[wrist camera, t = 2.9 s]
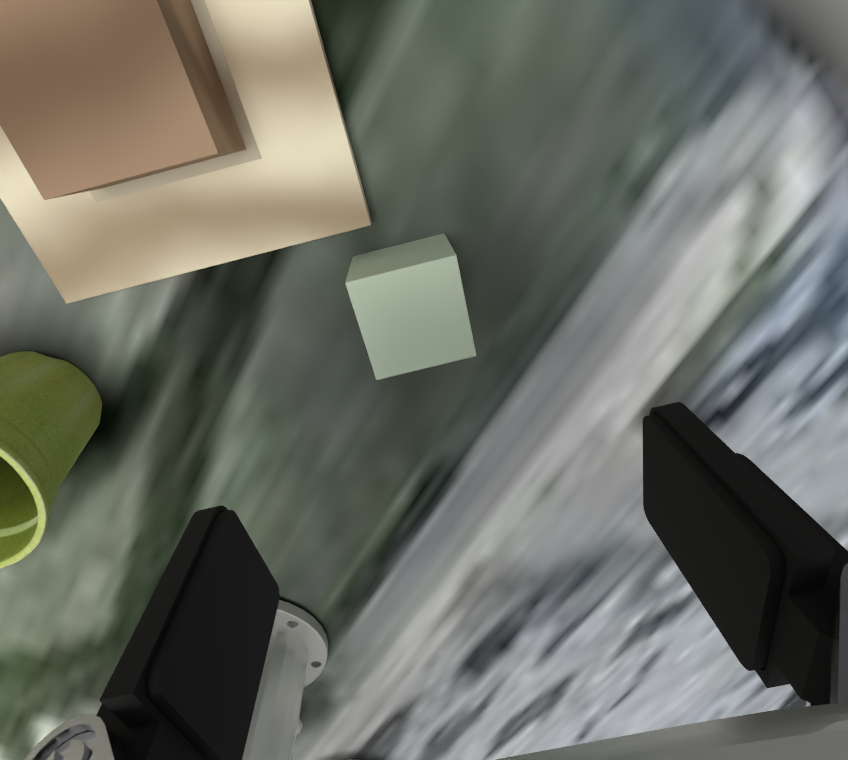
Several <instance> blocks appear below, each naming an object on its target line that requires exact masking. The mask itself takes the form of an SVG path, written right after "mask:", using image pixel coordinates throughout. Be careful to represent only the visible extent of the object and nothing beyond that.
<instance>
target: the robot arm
mask: <svg viewBox="0 0 848 760" xmlns="http://www.w3.org/2000/svg"><path fill="white" fill-rule="evenodd" d="M643 505H644V511H645V514H646V517H647V519H648V521H649V523H650V524H651V526H652V527H653V529H654V531H655V532H656V534H657V535H658V537H659V538H660V540H661V541H662V543H663V544H664V546H665V548H666V549H667V551H668V552H669V554H670V555H671V557H672V558H673V560H674V561H675V563H676V564H677V566H678V568H679V569H680V571H681V572H682V574H683V575H684V577H685V578H686V580H687V581H688V583H689V584H690V586H691V588H692V589H693V591H694V592H695V594H696V595H697V597H698V598H699V600H700V601H701V603H702V604H703V606H704V608H705V609H706V611H707V612H708V614H709V615H710V617H711V618H712V620H713V621H714V623H715V625H716V626H717V628H718V629H719V631H720V632H721V634H722V635H723V637H724V638H725V640H726V641H727V643H728V645H729V646H730V648H731V649H732V651H733V652H734V654H735V655H736V657H737V658H738V660H739V661H740V663H741V664H742V665H743V666H744V667H745V668H746V669H747V670H749V671H751V670H755V671H756V672H757V674H758V675H759V677H760V678H761V680H762V681H763V683H764V684H765V686H766V687H767V688H770V687H776V686H781V685H786V684H791V686H792V687H793V689H794V690H795V691H796V693H797V694H798V696H799V697H800V698H801V699H803V700H805V701H806V707H798V708H789V709H780V710H773V711H767V712H761V713H755V714H749V715H743V716H737V717H731V718H724V719H718V720H712V721H706V722H700V723H694V724H688V725H682V726H676V727H671V728H665V729H660V730H654V731H649V732H644V733H638V734H633V735H627V736H622V737H616V738H611V739H605V740H600V741H594V742H589V743H583V744H578V745H573V746H567V747H562V748H556V749H551V750H545V751H540V752H534V753H529V754H524V755H519V756H513V757H508V758H503V759H497V760H848V551H847V550H846V549H845V548H844V547H843V546H842V545H840V544H839V543H838V542H837V541H836V540H835V539H834V538H833V537H832V536H831V535H830V534H829V533H828V532H827V531H825V530H824V529H823V528H822V527H821V526H820V525H819V524H818V523H817V522H816V521H815V520H814V519H813V518H812V517H811V516H809V515H808V514H807V513H806V512H805V511H804V510H803V509H802V508H801V507H800V506H799V505H798V504H797V503H796V502H794V501H793V500H792V499H791V498H790V497H789V496H788V495H787V494H786V493H785V492H784V491H783V490H782V489H781V488H779V487H778V486H777V485H776V484H775V483H774V482H773V481H772V480H771V479H770V478H769V477H768V476H767V475H766V474H765V473H763V472H762V471H761V470H760V469H759V468H758V467H757V466H756V465H755V464H754V463H753V462H752V461H751V460H749V459H748V458H747V457H745V456H744V455H742V454H738V453H736V454H735V453H734V452H733V451H732V450H731V449H730V448H729V447H728V446H727V445H726V444H725V443H724V442H723V441H722V440H721V439H720V438H719V437H717V436H716V435H715V434H714V433H713V432H712V431H711V430H710V429H709V428H708V427H707V426H706V425H705V424H704V423H703V422H702V421H701V420H700V419H699V418H698V417H697V416H696V415H694V414H693V413H692V412H691V411H690V410H689V409H688V408H687V407H686V406H685V405H684V404H682V403H681V402H676V403H672V404H667V405H663V406H659V407H654V408H652V409H651V411H650V415H649V416H645V417H644V419H643ZM327 654H328V640H327V635H326V633H325V632H324V630H323V628H322V626H321V625H320V624H319V623H318V622H317V621H316V619H315V618H314V617H312V616H311V615H310V614H308V613H307V612H306V611H304V610H303V609H301V608H299V607H297V606H295V605H293V604H291V603H288V602H285V601H282V600H279V588H278V585H277V583H276V581H275V579H274V578H273V576H272V574H271V573H270V571H269V569H268V567H267V566H266V564H265V562H264V561H263V559H262V557H261V555H260V554H259V552H258V550H257V549H256V547H255V545H254V543H253V542H252V540H251V538H250V537H249V535H248V533H247V532H246V530H245V528H244V526H243V525H242V523H241V521H240V520H239V518H238V516H237V514H236V513H235V512H234V511H233V510H228V509H227V508H226V507H224V506H217V507H212V508H208V509H204V510H199V511H197V512H195V513H194V515H193V516H192V518H191V520H190V522H189V524H188V526H187V528H186V530H185V532H184V534H183V536H182V538H181V540H180V542H179V544H178V546H177V548H176V550H175V552H174V554H173V556H172V557H171V559H170V561H169V563H168V565H167V567H166V569H165V571H164V573H163V575H162V577H161V579H160V581H159V583H158V585H157V587H156V589H155V591H154V593H153V595H152V597H151V599H150V601H149V603H148V605H147V607H146V609H145V611H144V613H143V615H142V617H141V619H140V621H139V623H138V625H137V627H136V629H135V631H134V633H133V635H132V637H131V639H130V641H129V643H128V645H127V647H126V649H125V651H124V653H123V655H122V657H121V659H120V661H119V663H118V665H117V667H116V669H115V671H114V673H113V675H112V677H111V679H110V680H109V682H108V684H107V686H106V688H105V690H104V692H103V694H102V696H101V698H100V701H101V702H102V705H101V707H100V709H99V711H98V713H97V715H96V716H95V715H93V714H89V715H80V716H78V717H75V718H73V719H71V720H68V721H66V722H65V723H63V724H62V725H60V726H59V727H57V728H56V729H54V730H53V731H52V732H51V733H49V734H48V735H47V736H46V737H45V738H44V739H43V740H42V741H41V742H39V743H38V744H37V746H36V747H35V748H34V749H33V750H32V752H31V753H30V754H29V755H28V756H27V757H26V759H25V760H293V755H294V748H295V742H296V735H298V734H299V733H300V731H301V729H302V721H301V720H300V718H299V715H300V709H301V702H302V695H303V689H304V688H305V687H306V686H308V685H309V684H311V683H312V682H313V681H314V680H315V679H316V678H317V677H318V676H319V675H320V674H321V672H322V671H323V669H324V667H325V665H326V661H327Z"/></svg>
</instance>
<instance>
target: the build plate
mask: <svg viewBox="0 0 848 760" xmlns="http://www.w3.org/2000/svg"><path fill="white" fill-rule="evenodd" d="M191 2H192V5H193V8H194V11H195V13H196V16H197V19H198V21H199V24H200V27H201V29H202V32H203V35H204V37H205V40H206V43H207V45H208V48H209V51H210V53H211V56H212V59H213V61H214V64H215V67H216V69H217V72H218V75H219V77H220V80H221V83H222V85H223V88H224V91H225V94H226V96H227V99H228V102H229V104H230V107H231V110H232V112H233V115H234V118H235V120H236V123H237V126H238V128H239V131H240V134H241V136H242V139H243V142H244V144H245V147H246V150H243V151H239V152H235V153H231V154H228V155H224V156H220V157H217V158H213V159H209V160H205V161H202V162H198V163H194V164H191V165H187V166H183V167H179V168H176V169H172V170H168V171H165V172H161V173H157V174H153V175H150V176H146V177H142V178H138V179H135V180H131V181H127V182H124V183H120V184H116V185H112V186H109V187H105V188H101V189H97V190H92V191H87V192H82V193H77V194H72V195H67V196H62V197H57V198H52V199H48V200H44V199H43V197H42V196H41V194H40V192H39V191H38V189H37V187H36V186H35V184H34V182H33V180H32V179H31V177H30V175H29V174H28V172H27V170H26V168H25V167H24V165H23V163H22V162H21V160H20V158H19V157H18V155H17V153H16V151H15V150H14V148H13V146H12V145H11V143H10V141H9V139H8V138H7V136H6V134H5V133H4V131H3V129H2V128H1V126H0V198H1V200H2V201H3V203H4V204H5V206H6V208H7V209H8V211H9V212H10V214H11V216H12V217H13V219H14V220H15V222H16V224H17V225H18V227H19V228H20V230H21V232H22V233H23V235H24V236H25V238H26V240H27V241H28V243H29V244H30V246H31V248H32V249H33V251H34V252H35V254H36V255H37V257H38V259H39V260H40V262H41V263H42V265H43V267H44V268H45V270H46V271H47V273H48V275H49V276H50V278H51V279H52V281H53V283H54V284H55V286H56V287H57V289H58V291H59V292H60V294H61V295H62V297H63V299H64V300H65V302H66V303H70V302H74V301H78V300H82V299H86V298H90V297H94V296H98V295H102V294H105V293H109V292H113V291H117V290H121V289H125V288H129V287H133V286H137V285H140V284H144V283H148V282H152V281H156V280H160V279H164V278H168V277H172V276H175V275H179V274H183V273H187V272H191V271H195V270H199V269H203V268H207V267H210V266H214V265H218V264H222V263H226V262H230V261H234V260H238V259H242V258H245V257H249V256H253V255H257V254H261V253H265V252H269V251H273V250H277V249H280V248H284V247H288V246H292V245H296V244H300V243H304V242H308V241H312V240H315V239H319V238H323V237H327V236H331V235H335V234H339V233H343V232H347V231H350V230H354V229H358V228H362V227H366V226H370V225H371V223H372V220H371V216H370V212H369V209H368V205H367V201H366V198H365V194H364V191H363V187H362V183H361V180H360V176H359V173H358V169H357V165H356V162H355V158H354V154H353V151H352V147H351V144H350V140H349V136H348V133H347V129H346V126H345V122H344V118H343V115H342V111H341V107H340V104H339V100H338V97H337V93H336V89H335V86H334V82H333V78H332V75H331V71H330V68H329V64H328V60H327V57H326V53H325V50H324V46H323V42H322V39H321V35H320V31H319V28H318V24H317V21H316V17H315V13H314V10H313V6H312V2H311V0H191Z"/></svg>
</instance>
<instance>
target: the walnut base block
mask: <svg viewBox="0 0 848 760" xmlns="http://www.w3.org/2000/svg"><path fill="white" fill-rule="evenodd" d="M0 126H1V128H2V129H3V131H4V133H5V134H6V136H7V138H8V139H9V141H10V143H11V145H12V146H13V148H14V150H15V151H16V153H17V155H18V157H19V158H20V160H21V162H22V163H23V165H24V167H25V168H26V170H27V172H28V174H29V175H30V177H31V179H32V180H33V182H34V184H35V186H36V187H37V189H38V191H39V192H40V194H41V196H42V197H43V199H44V200H48V199H52V198H57V197H62V196H67V195H72V194H77V193H82V192H87V191H92V190H97V189H101V188H105V187H109V186H112V185H116V184H120V183H124V182H127V181H131V180H135V179H138V178H142V177H146V176H150V175H153V174H157V173H161V172H165V171H168V170H172V169H176V168H179V167H183V166H187V165H191V164H194V163H198V162H202V161H205V160H209V159H213V158H217V157H220V156H224V155H228V154H231V153H235V152H239V151H243V150H246V147H245V144H244V142H243V139H242V136H241V134H240V131H239V128H238V126H237V123H236V120H235V118H234V115H233V112H232V110H231V107H230V104H229V102H228V99H227V96H226V94H225V91H224V88H223V85H222V83H221V80H220V77H219V75H218V72H217V69H216V67H215V64H214V61H213V59H212V56H211V53H210V51H209V48H208V45H207V43H206V40H205V37H204V35H203V32H202V29H201V27H200V24H199V21H198V19H197V16H196V13H195V11H194V8H193V5H192V2H191V0H0Z"/></svg>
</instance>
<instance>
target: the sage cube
mask: <svg viewBox="0 0 848 760" xmlns="http://www.w3.org/2000/svg"><path fill="white" fill-rule="evenodd" d="M345 284H346V287H347V290H348V293H349V296H350V299H351V303H352V306H353V309H354V312H355V315H356V318H357V321H358V324H359V327H360V330H361V334H362V337H363V340H364V343H365V346H366V349H367V352H368V355H369V358H370V361H371V365H372V368H373V371H374V374H375V377H376V380H379V379H383V378H387V377H391V376H396V375H400V374H404V373H408V372H412V371H416V370H420V369H425V368H429V367H433V366H437V365H441V364H445V363H449V362H454V361H458V360H462V359H466V358H470V357H474V356H476V351H475V346H474V341H473V336H472V331H471V326H470V321H469V316H468V311H467V306H466V301H465V296H464V291H463V286H462V281H461V276H460V271H459V266H458V261H457V256H456V254H455V252H454V250H453V248H452V246H451V245H450V243H449V241H448V239H447V237H446V236H445V234H444V233H443V234H439V235H435V236H431V237H427V238H423V239H419V240H415V241H411V242H407V243H403V244H400V245H396V246H392V247H388V248H384V249H380V250H376V251H372V252H368V253H364V254H360V255H356V256H353V257H352V260H351V264H350V267H349V271H348V274H347V278H346V282H345Z"/></svg>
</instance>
